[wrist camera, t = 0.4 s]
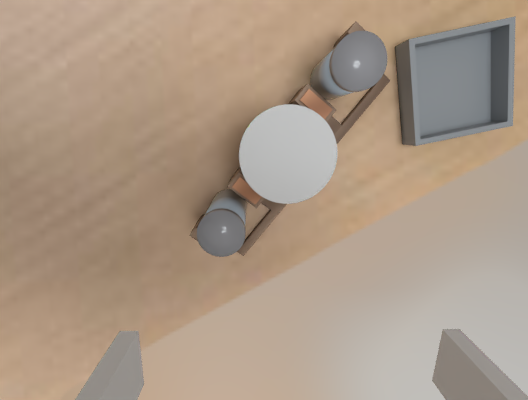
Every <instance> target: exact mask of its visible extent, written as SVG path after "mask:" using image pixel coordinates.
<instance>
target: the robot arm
mask: <svg viewBox="0 0 528 400" xmlns="http://www.w3.org/2000/svg"><path fill="white" fill-rule="evenodd" d="M432 381H433V382H434V384H435V385H436V386H437V388H438V389H439V391H440V392H441V394H442V395H443V396H444V398H445V399H446V400H528V396H527V395H526V394H525V393H523V391H522V390H521V389H520V388H519V387H518V386H517V385H516V384H515V383H514V382H513V381H511V379H509V378H508V376H506V374H505V373H503V372H502V371H501V370H500V369H499V368H498V367H497V366H496V365H495V364H494V363H493V362H492V361H491V360H490V359H489V358H488V357H487V356H486V355H485V354H484V353H483V352H482V351H481V350H480V349H479V348H478V347H477V346H476V345H475V344H474V343H473V342H472V341H471V340H470V339H469V338H468V337H467V336H466V335H465V334H464V333H463V332H462V331H461V330H460V329H443V331H442V336H441V341H440V345H439V351H438V355H437V360H436V365H435V369H434V374H433V380H432ZM143 385H144V379H143V370H142V361H141V350H140V341H139V332H138V331H120V332H119V333H118V335H117V336H116V338H115V339H114V341H113V342H112V344H111V345H110V347H109V348H108V350H107V352H106V353H105V355H104V356H103V358H102V359H101V361H100V362H99V364H98V365H97V367H96V368H95V370H94V371H93V373H92V374H91V376H90V378H89V379H88V381H87V382H86V384H85V385H84V387H83V388H82V390H81V391H80V393H79V394H78V396H77V398H76V399H75V400H137V399H138V397H139V394H140V392H141V389H142V387H143Z"/></svg>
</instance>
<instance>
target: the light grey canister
mask: <svg viewBox="0 0 528 400" xmlns="http://www.w3.org/2000/svg"><path fill="white" fill-rule="evenodd" d="M239 162H240V167H241V171H242V173H243V176H244V178H245V180H246V181H247V183H248V184H249V186H250V187H251V188H252V189H253V190H254V191H255V192H256V193H257V194H259V195H260V196H262V197H263V198H265V199H267V200H270V201H273V202H276V203H283V204H291V203H298V202H301V201H304V200H307V199H309V198H311V197H313V196H314V195H316V194H317V193H318V192H319V191H321V190H322V189H323V188H324V187H325V185H326V184H327V183H328V181H329V180H330V178H331V176H332V174H333V172H334V169H335V166H336V162H337V144H336V139H335V136H334V134H333V131H332V129H331V128H330V126H329V125H328V123H327V122H326V121H325V120H324V119H323V118H322V117H321V116H320V115H319V114H318V113H316V112H315V111H313V110H311V109H309V108H307V107H304V106H300V105H293V104H285V105H279V106H275V107H272V108H270V109H267V110H266V111H264V112H262V113H261V114H259V115H258V116H257V117H256V118H255V119H254V120H253V121H252V122H251V123H250V124H249V126H248V127H247V129H246V131H245V132H244V135H243V137H242V140H241V143H240V149H239Z"/></svg>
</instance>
